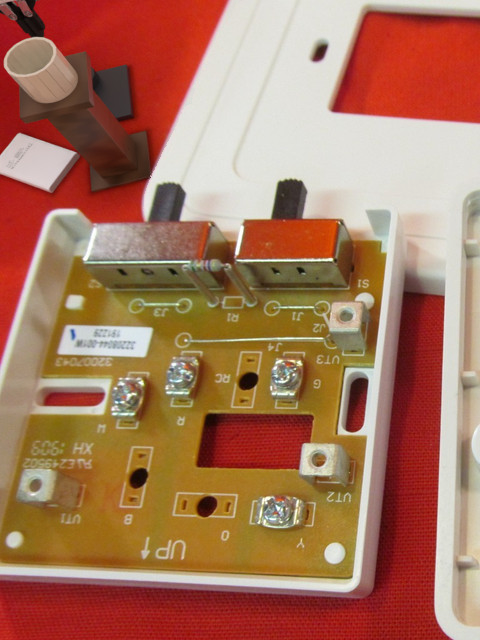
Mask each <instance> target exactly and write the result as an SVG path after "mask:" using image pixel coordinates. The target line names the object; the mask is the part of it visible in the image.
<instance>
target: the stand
mask: <svg viewBox="0 0 480 640" xmlns="http://www.w3.org/2000/svg"><path fill="white" fill-rule="evenodd" d="M63 56H64V57H65V58H66V59H67V61H68V62H69V63H70V64H71V66H72V67H73V68H74V69H75V71H76V72H77V75H78V83H77V85H76V87H75V89H74V90H73V91H72V93H71V94H69V95H68V96H67V97H65V98H64V99H62V100H60V101H57V102H53V103H40V102H37V101H35V100H33V99H32V98H31V97H30V96H29V95H28V94H27V93H26V92H25V91H24V90H23V89H22V87H21V86H20V85H19V84H18V86H19V87H18V88H19V90H18V92H19V93H18V95H19V97H18V98H19V119H20V120H21V121H22V122H23V123H24V124H25V125H26V124H31V123H34V122H38V121H39V122H40V121H43V120H48V121H49V122H50V123H51V125H52V126H53V127H54V128H55V129H56V130H57V132H59V134H61V135H62V137H63V138H64V139H65V140H66V141H67V142H68V143H69V145H71V146H72V147H73V148H74V149H75V151H77V153H78V154H79V155H80V157H82V158H83V159H84V160H85V161H86V162H87V163H88V165H89V175H90V188H91V192H92V193H97V192H101V191H106V190H109V189H113V188H118V187H121V186H125V185H130V184H133V183H137V182H141V181H145V180H148V179H149V180H150V178H149V177H150V175H151V173H152V174H153V171H152V165H151V154H150V146H149V145H150V144H149V135H148V132H147V130H143V131H139V132H134V133H131V134H129V133H128V132H127V130H126V129H125V127H123V126H122V124H121V122H120V121H119V122H118V120H117V119H116V118H115V117H114V115H113V114H112V113H111V112H110V110H109V109H108V108H107V106H106V105H105V104H104V103H103V101H102V100H101V99H100V98H99V96H98V95H97V94H96V93H95V91H94V90H93V86H92V72H91V67H92V60H91V56H90V55H89V54H88V52H87V51H86V50H84V51H81V52H77V53H73V54H68V55H63Z"/></svg>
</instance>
